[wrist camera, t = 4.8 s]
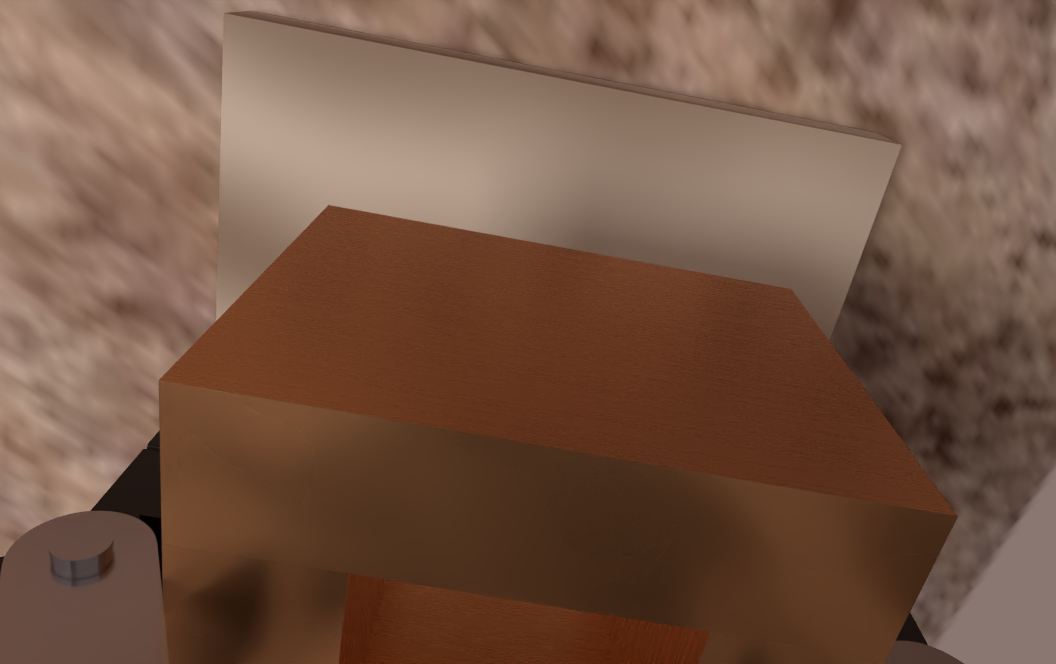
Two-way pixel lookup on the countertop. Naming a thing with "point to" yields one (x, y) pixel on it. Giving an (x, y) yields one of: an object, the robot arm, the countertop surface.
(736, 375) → the hollow wooden cube
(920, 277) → the countertop surface
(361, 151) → the board
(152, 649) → the robot arm
